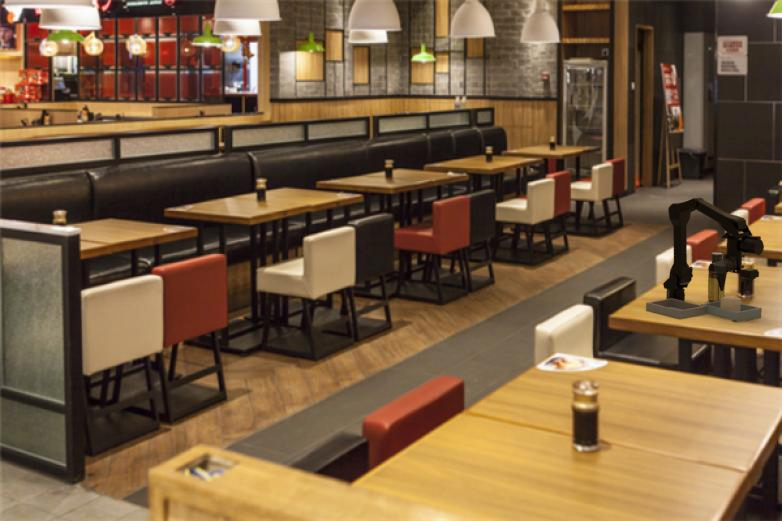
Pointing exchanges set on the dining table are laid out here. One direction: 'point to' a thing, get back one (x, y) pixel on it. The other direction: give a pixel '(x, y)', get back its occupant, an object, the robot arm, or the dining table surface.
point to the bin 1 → (675, 308)
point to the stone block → (731, 303)
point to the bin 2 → (745, 312)
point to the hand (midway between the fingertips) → (732, 293)
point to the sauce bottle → (714, 282)
